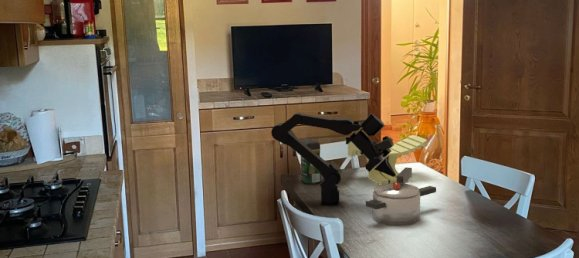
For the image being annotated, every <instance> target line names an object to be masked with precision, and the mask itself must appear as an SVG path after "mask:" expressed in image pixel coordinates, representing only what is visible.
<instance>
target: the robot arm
mask: <svg viewBox="0 0 579 258" xmlns="http://www.w3.org/2000/svg"><path fill="white" fill-rule="evenodd" d="M298 125H303V126H309V127H315V128H319V129H325V130H326V129H327V130H330V131H333V132H335V133H338V134H340V135H342V136H345V145H348V144H349V143H350V142H352V143H353V144H354V145H355V146H356V147H357V148H358V149H359V150H360V151H361V153H360V154H361V155H360V156H365V159H366V158H367V159H368V160H369V161H368V162H367V163H365V169H366V171H367V173H368V172H370V171H371V170H372V169H373V168H374V167H375V166H376V168H375V169H374V170H377V171H380V172H383V173H385V174H387V175H390V176H392V177H394V176H395V175H396V174H395V172H394V170H393V168H392V167H391V165H390V163H389V155H388V154H389V153H390V152H391V150H390V149H389V148H391V147H393V146H394V144H395V143H394V142H393V141H394V139H393V138H392V137H389V136H388V135H385V136H383V137H382V140H381V141H379V142H377V141H376V140H372V139H371V138H370V137H375V136H376V135H377V134H378V133H379V132H380V131H382V129H383V128H384V127H385V126H386V125H385V123H384V122H383V121H382V120H381V119H380V118H379V117H377V115H375V114H373V113H372V112H371V113H370V114H369V115H368V116H367V117H366V118H365V119H364V120H363V121H355V120H353V118H351V117H325V116H319V115H313V114H306V113H301V112H295V113H294V114H293V115H292V116H291V117H290V118H288V119H287V120H286V121H284V122H279V123H277V124H276V125H274V126H273V127H272V128H271V131H270V132H271V137H272V139H274V141H275V140H276V141H278V142H279V143H281V144H283V145H285V146H288V147H289V148H291V149H292V150H294V152H296V153H297V154H298V155H300V157H301V156H302V157H303V158H304V159H305V160H307V161H308V162H309V163H310V164H312V165H313V166H314V167H315V168H316V169H318V171H319V172H320V174H321V178H323V179H321V181H320V184H319V186H320V205H321V206H328V205H329V206H330V205H331V206H336V205H337V206H338V205H339V203H340V189H339V187H338V185H339V184H340V182H341V181H342V178H343V175H344V172H343V170H342V169H341V166H340V165H339V164H337V163H336V162H335V161H334V160H331V161H330V162H329V161H326V160H325V159H323V157H321V155H320V156H319V155H317V154H316V153H315V152H314V151H312V150H311V149H310V148H309V147H308V146H306V145H305V144H304V143H303V142H302V140H301V139H299V138H298V137H297V136H296V134H295V133H294V131H293V130H292V129H294V128H295V127H297V126H298ZM350 134H351V135H350ZM363 154H364V155H363ZM387 155H388V156H387ZM386 156H387V157H386ZM367 159H366V160H367Z"/></svg>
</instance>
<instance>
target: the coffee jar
mask: <svg viewBox="0 0 579 258" xmlns="http://www.w3.org/2000/svg"><path fill="white" fill-rule="evenodd" d="M301 141H302V142H303V143H304V144H305V145H306V146H308V147H309V148H310V149H311V150H312V151H314V152H315V153H316V154H317V155H319V156H320V157H321V143H320V142H319V141H316V140H315V139H312V138H303V139H302V140H301ZM300 180H301V181H302V182H303V183H304V184H311V185H315V184H318V183H321V182H322V175H321V174H320V172H319V171H318V169H316V168H315V167H314V166H313V165H312V164H310V163H309V162H308V161H307V160H305V159H304V158H303V157H302V156H301V155H300Z"/></svg>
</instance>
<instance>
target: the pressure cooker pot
mask: <svg viewBox="0 0 579 258" xmlns="http://www.w3.org/2000/svg"><path fill="white" fill-rule="evenodd" d="M435 193H437V187H436V186H431V185H428V186H424V187H421V188H419V194H418V195H417V196H415V197H411V198H401V199H396V198H386V197H381V196H378V195H376V194H375V193H374V190H373V191H372V199H370V200H367V201H365V207H367V208H371V209H372V219H373V221H375V222H376V223H378V224H381V225H385V226H394V227H405V226H411V225H416V224H417V223H419V222H420V220H421V197H424V196H428V195H431V194H435Z"/></svg>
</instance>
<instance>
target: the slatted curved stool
mask: <svg viewBox="0 0 579 258" xmlns="http://www.w3.org/2000/svg"><path fill="white" fill-rule="evenodd" d="M393 144H394V146H393V147H391V148H389V149H390V150H391V152H390V153H389V154H388V155H389V163H390V165H391V167H392V168H393V170H394V172H395V174H396V175H395V176H394V177H392V176H390V175H387V174H385V173H383V172H380V171H377V170H374V169H375V168H376V166H375V167H374V168H373V169H372V170H371V171H370V172H368V171H367V174H368V175H367V177H368V179H369V178H371V179H372V180H371V179H370V180H371V181H373V180H374V181H375V183H376V182H377V183H376V184H377V185H379V184H380V185H381V184H388V183H394V182H397V175H398V174H399V173H400V172H399V171H398V170H397V169H396V162H397V160H398V158H399V155H401V156H406V155H410V153H416V150H422V147H424V148H425V147H428V139H427V138H423V137H421V136H418V135H415V134H412V135H409V136H407V138H403V139H401V140H400V141H397V142H395V143H393ZM360 153H361V151H360V150H359V149H358V148H357V147H356V146H355V145H354V144H353V143H352V142H350V143H349V144H347V156H349V157H350V158H352V157H355V156H364V154H363V155H361V154H360ZM388 155H387V156H388ZM387 156H386V157H387ZM365 159H366V162H367V163H368V161H369V160H368V159H367V158H366V157H365ZM374 181H373V182H374ZM408 183H409V180H408V181H407V182H406V183H405V184H408Z"/></svg>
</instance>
